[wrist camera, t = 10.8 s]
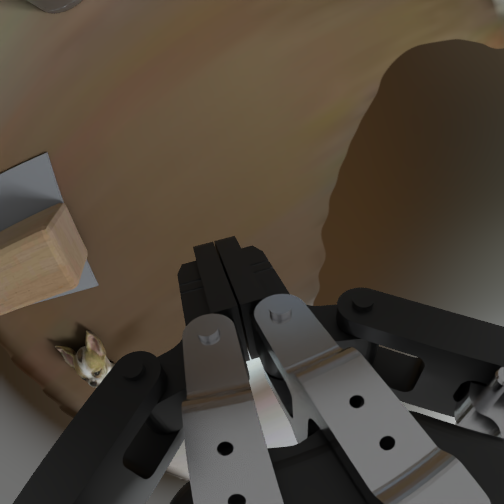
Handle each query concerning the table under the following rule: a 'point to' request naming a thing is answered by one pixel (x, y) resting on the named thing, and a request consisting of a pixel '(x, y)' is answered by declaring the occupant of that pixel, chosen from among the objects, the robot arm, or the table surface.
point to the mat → (34, 202)
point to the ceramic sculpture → (88, 360)
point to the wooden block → (39, 258)
